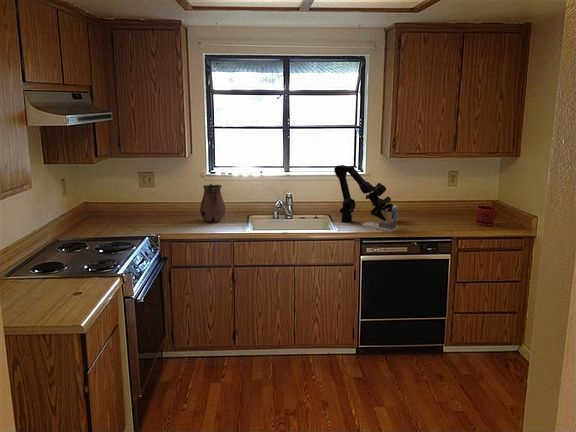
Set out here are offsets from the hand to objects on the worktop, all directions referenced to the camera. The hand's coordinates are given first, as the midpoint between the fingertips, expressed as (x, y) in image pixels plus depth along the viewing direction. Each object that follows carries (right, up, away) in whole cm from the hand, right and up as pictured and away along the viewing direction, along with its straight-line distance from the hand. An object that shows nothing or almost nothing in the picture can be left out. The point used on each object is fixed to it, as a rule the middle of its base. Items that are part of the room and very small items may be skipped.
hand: (389, 219), depth 320 cm
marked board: (-5, -6, +7) cm, 10 cm away
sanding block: (-1, -5, +2) cm, 6 cm away
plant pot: (+67, -4, +14) cm, 69 cm away
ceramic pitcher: (-117, -2, +26) cm, 120 cm away
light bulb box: (+6, -2, +24) cm, 25 cm away
